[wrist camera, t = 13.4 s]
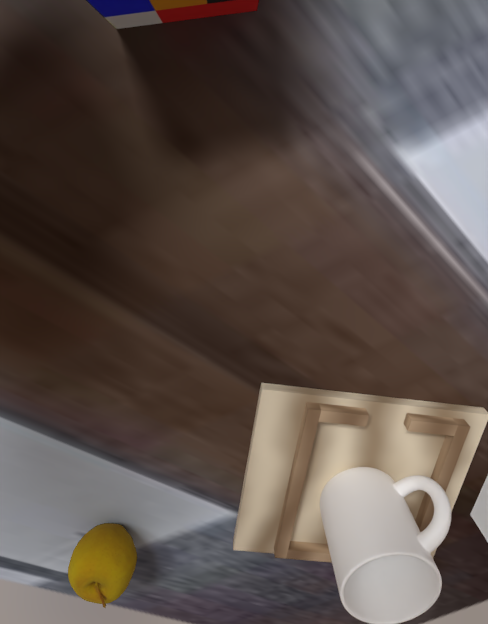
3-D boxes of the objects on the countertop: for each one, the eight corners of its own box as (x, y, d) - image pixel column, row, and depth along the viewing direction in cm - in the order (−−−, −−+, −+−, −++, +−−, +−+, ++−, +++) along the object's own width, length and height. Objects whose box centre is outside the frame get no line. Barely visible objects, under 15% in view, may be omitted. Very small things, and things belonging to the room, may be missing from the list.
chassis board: (233, 540, 49) (233, 559, 47) (261, 382, 42) (262, 396, 40) (425, 557, 51) (434, 576, 49) (483, 407, 44) (496, 422, 42)
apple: (144, 552, 50) (128, 625, 42) (85, 551, 49) (59, 624, 42) (143, 507, 47) (126, 576, 40) (81, 506, 47) (53, 575, 40)
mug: (397, 427, 43) (445, 510, 33) (444, 477, 45) (501, 568, 36) (301, 494, 46) (319, 589, 36) (350, 538, 48) (379, 639, 38)
